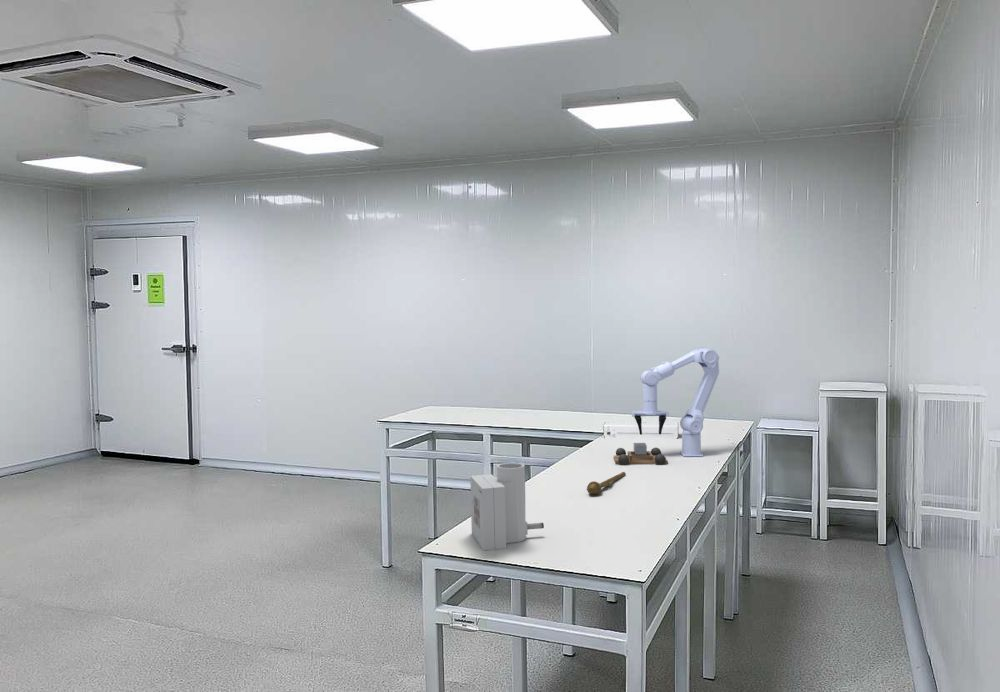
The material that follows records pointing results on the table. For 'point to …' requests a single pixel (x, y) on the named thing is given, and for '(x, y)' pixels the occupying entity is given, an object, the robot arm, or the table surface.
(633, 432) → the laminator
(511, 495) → the box with tube attached
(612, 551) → the table surface
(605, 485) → the ball-headed bronze rod
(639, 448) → the block
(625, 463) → the chassis
